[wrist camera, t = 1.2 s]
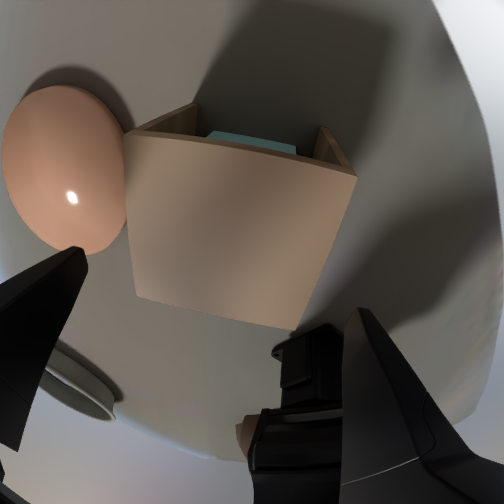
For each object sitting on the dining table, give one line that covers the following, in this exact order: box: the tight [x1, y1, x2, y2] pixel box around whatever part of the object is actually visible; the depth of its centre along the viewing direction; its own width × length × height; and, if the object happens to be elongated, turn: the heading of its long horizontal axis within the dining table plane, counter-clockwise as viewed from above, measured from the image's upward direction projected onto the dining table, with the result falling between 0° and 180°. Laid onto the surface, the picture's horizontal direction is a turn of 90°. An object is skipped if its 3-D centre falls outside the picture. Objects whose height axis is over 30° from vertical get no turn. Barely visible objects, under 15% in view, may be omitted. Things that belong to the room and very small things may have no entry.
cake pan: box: [38, 348, 116, 422], centre depth 39 cm, size 25×25×4 cm
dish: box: [2, 84, 127, 255], centre depth 16 cm, size 13×13×1 cm
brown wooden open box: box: [123, 103, 358, 331], centre depth 13 cm, size 7×7×7 cm
